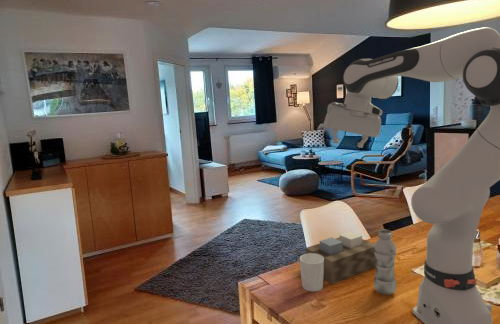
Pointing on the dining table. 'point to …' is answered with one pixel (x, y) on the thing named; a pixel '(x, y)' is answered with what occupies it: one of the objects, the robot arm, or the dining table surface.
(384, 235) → the plastic bottle
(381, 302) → the dining table surface
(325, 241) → the blue-grey square block
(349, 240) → the light beige square block
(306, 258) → the white cup
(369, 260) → the brown rectangular block
